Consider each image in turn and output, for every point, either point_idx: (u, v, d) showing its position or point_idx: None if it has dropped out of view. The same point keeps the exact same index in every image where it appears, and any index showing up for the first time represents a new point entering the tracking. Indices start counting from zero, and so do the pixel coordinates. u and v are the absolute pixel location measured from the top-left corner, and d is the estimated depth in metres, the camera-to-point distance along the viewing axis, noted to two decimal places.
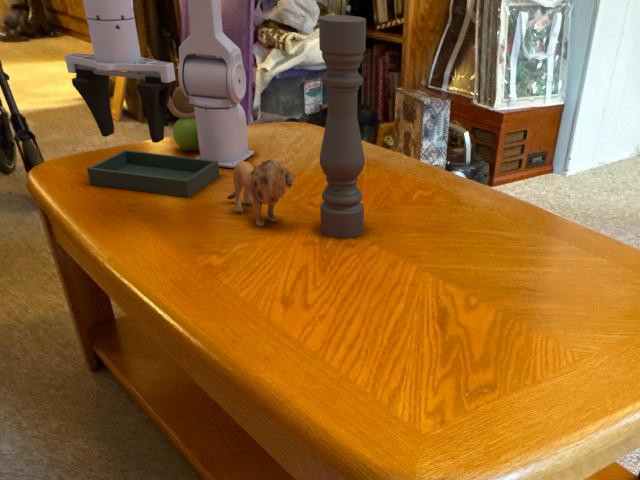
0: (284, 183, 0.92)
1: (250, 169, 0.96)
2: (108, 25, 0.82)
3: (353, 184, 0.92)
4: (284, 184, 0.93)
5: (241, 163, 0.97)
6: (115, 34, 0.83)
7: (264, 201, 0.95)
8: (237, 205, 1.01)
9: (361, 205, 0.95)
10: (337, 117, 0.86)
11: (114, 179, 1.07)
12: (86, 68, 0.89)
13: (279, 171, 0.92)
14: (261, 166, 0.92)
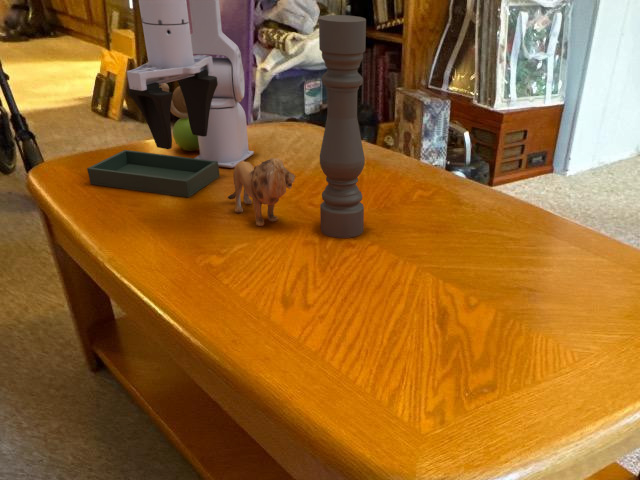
0: (284, 183, 0.92)
1: (250, 169, 0.96)
2: (188, 27, 0.85)
3: (353, 184, 0.92)
4: (284, 184, 0.93)
5: (241, 163, 0.97)
6: (190, 35, 0.86)
7: (264, 201, 0.95)
8: (237, 205, 1.01)
9: (361, 205, 0.95)
10: (337, 117, 0.86)
11: (114, 179, 1.07)
12: (149, 82, 0.85)
13: (279, 171, 0.91)
14: (261, 166, 0.92)
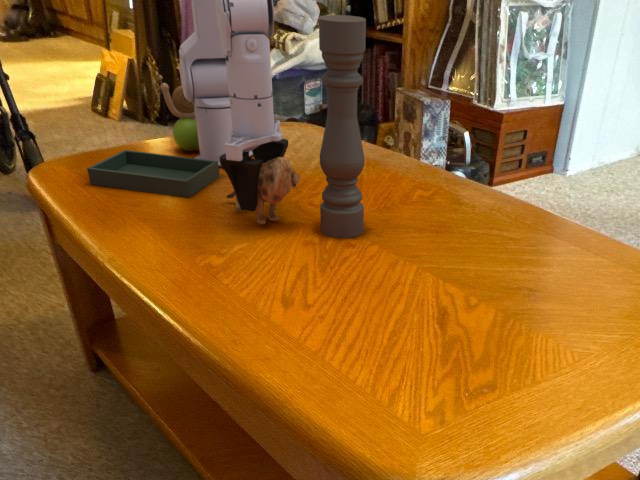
0: (290, 182, 0.93)
1: None
2: (272, 99, 0.91)
3: (353, 184, 0.92)
4: (290, 183, 0.93)
5: None
6: None
7: (268, 199, 0.95)
8: (237, 203, 1.00)
9: (361, 205, 0.95)
10: (337, 117, 0.86)
11: (114, 179, 1.07)
12: (242, 151, 0.90)
13: (286, 170, 0.92)
14: (267, 164, 0.92)
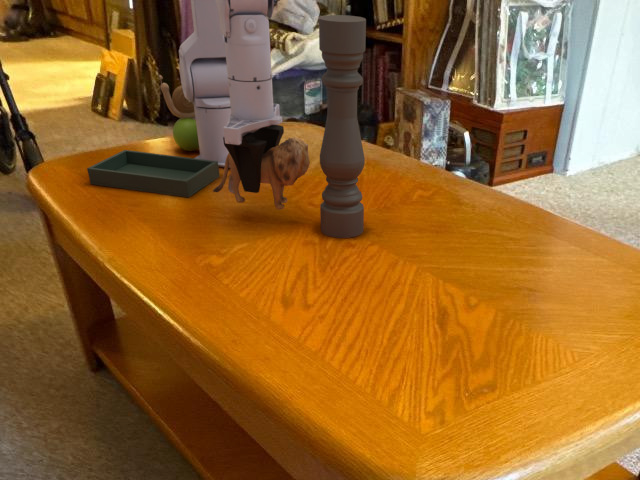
0: (309, 160, 0.94)
1: None
2: None
3: (353, 184, 0.92)
4: (309, 161, 0.94)
5: None
6: None
7: (288, 182, 0.95)
8: (238, 195, 0.98)
9: (361, 205, 0.95)
10: (337, 117, 0.86)
11: (114, 179, 1.07)
12: (240, 135, 0.89)
13: (304, 149, 0.93)
14: (284, 147, 0.92)
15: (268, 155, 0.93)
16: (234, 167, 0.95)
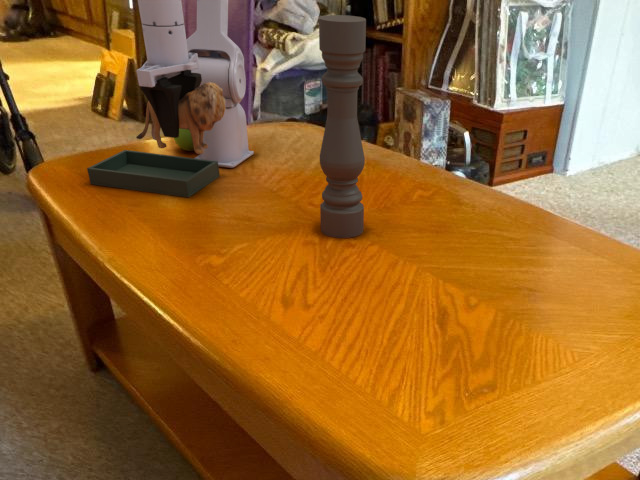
0: (224, 105, 0.98)
1: None
2: (184, 27, 0.94)
3: (353, 184, 0.92)
4: (224, 106, 0.98)
5: None
6: None
7: (205, 127, 0.99)
8: (159, 141, 1.02)
9: (361, 205, 0.95)
10: (337, 117, 0.86)
11: (114, 179, 1.07)
12: (155, 79, 0.93)
13: (219, 94, 0.97)
14: (199, 92, 0.96)
15: (185, 100, 0.98)
16: (154, 113, 1.00)
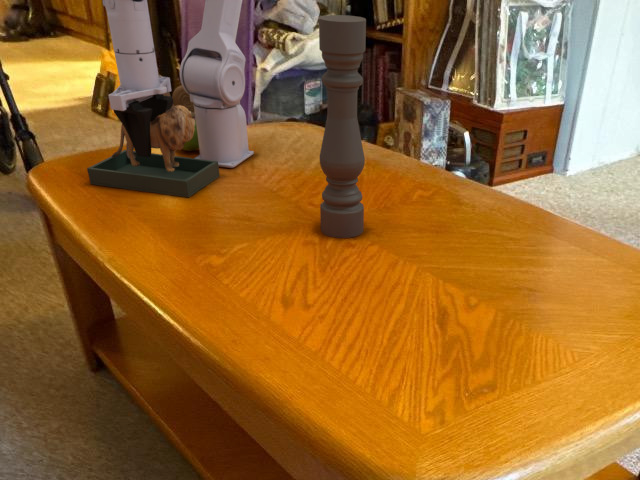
0: (193, 126, 1.04)
1: None
2: None
3: (353, 184, 0.92)
4: (193, 127, 1.04)
5: None
6: None
7: (175, 147, 1.05)
8: (133, 159, 1.08)
9: (361, 205, 0.95)
10: (337, 117, 0.86)
11: (114, 179, 1.07)
12: (126, 102, 0.99)
13: (188, 116, 1.03)
14: (169, 114, 1.02)
15: (156, 122, 1.04)
16: (127, 133, 1.06)
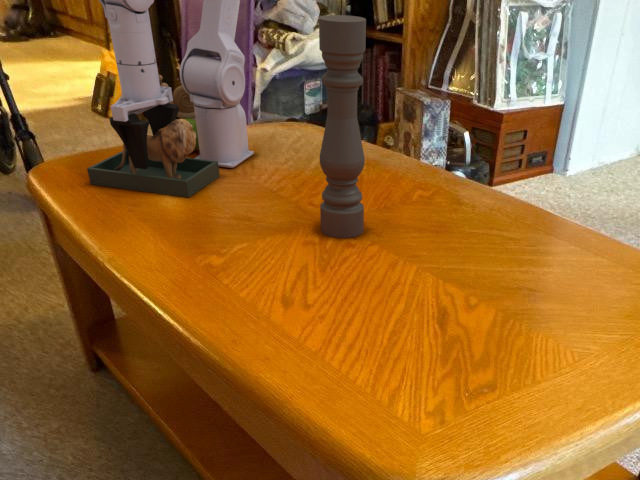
0: (194, 139, 1.05)
1: (147, 135, 1.06)
2: (156, 65, 1.00)
3: (353, 184, 0.92)
4: (194, 140, 1.05)
5: None
6: None
7: (177, 160, 1.06)
8: (135, 172, 1.09)
9: (361, 205, 0.95)
10: (337, 117, 0.86)
11: (114, 179, 1.07)
12: (128, 113, 1.00)
13: (189, 129, 1.04)
14: (170, 128, 1.03)
15: (158, 135, 1.05)
16: None
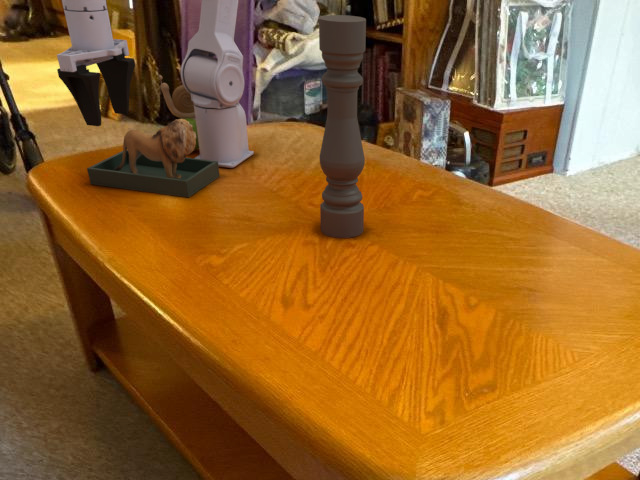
0: (194, 139, 1.05)
1: (147, 135, 1.06)
2: None
3: (353, 184, 0.92)
4: (194, 140, 1.05)
5: (134, 132, 1.06)
6: (109, 20, 0.95)
7: (177, 160, 1.06)
8: (135, 172, 1.09)
9: (361, 205, 0.95)
10: (337, 117, 0.86)
11: (114, 179, 1.07)
12: (77, 64, 0.94)
13: (189, 129, 1.04)
14: (170, 128, 1.03)
15: (158, 135, 1.05)
16: (129, 147, 1.07)
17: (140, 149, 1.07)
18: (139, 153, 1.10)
